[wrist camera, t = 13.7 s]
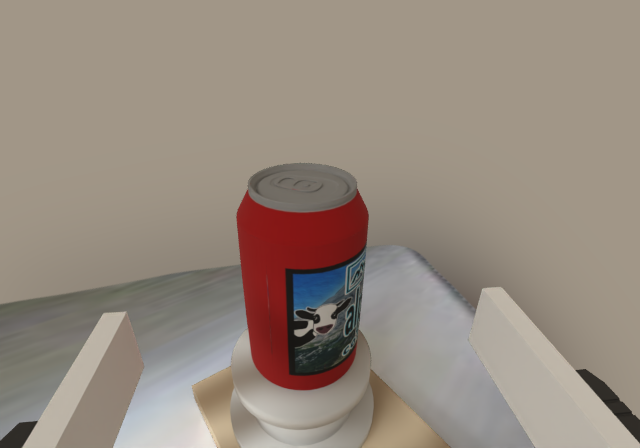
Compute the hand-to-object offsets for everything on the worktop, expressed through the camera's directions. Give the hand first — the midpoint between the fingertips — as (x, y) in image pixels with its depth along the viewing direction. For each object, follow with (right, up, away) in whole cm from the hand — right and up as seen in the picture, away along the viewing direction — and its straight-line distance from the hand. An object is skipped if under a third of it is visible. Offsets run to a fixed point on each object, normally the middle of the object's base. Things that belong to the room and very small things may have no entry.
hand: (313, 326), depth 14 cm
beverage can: (-1, -5, +10) cm, 11 cm away
